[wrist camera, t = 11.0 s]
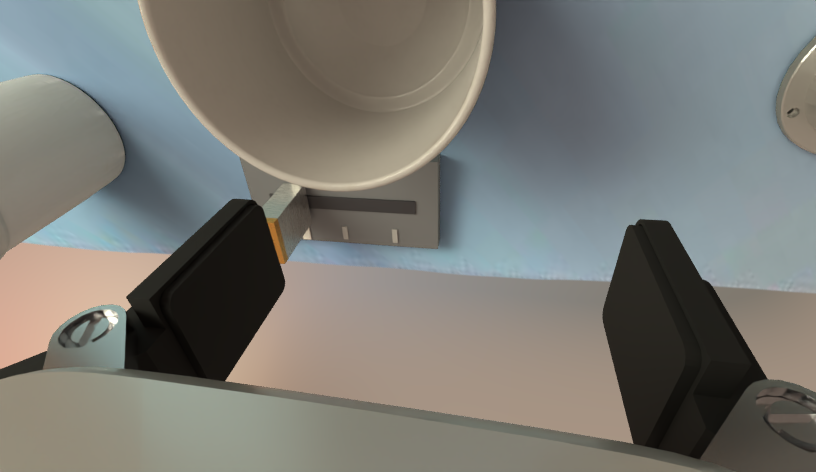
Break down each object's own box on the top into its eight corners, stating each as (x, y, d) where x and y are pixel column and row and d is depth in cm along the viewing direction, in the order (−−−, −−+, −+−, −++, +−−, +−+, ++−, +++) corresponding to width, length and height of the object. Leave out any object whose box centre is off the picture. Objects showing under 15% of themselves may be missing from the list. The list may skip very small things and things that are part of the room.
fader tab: (304, 184, 45) (273, 222, 39) (312, 222, 48) (284, 263, 42) (283, 183, 46) (249, 221, 39) (292, 220, 49) (262, 262, 42)
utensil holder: (106, 206, 56) (-25, 295, 42) (-4, 124, 51) (-193, 193, 37) (150, 142, 49) (10, 223, 35) (27, 39, 44) (-194, 85, 30)
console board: (440, 154, 43) (437, 163, 41) (439, 239, 49) (437, 250, 48) (247, 147, 47) (237, 155, 45) (270, 227, 53) (262, 237, 51)
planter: (388, -238, 28) (275, -429, 13) (541, 11, 34) (574, 60, 20) (234, -19, 37) (71, 5, 23) (378, 143, 44) (322, 240, 30)
